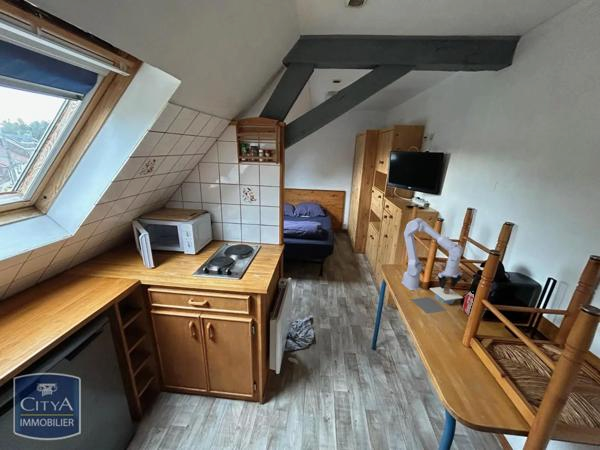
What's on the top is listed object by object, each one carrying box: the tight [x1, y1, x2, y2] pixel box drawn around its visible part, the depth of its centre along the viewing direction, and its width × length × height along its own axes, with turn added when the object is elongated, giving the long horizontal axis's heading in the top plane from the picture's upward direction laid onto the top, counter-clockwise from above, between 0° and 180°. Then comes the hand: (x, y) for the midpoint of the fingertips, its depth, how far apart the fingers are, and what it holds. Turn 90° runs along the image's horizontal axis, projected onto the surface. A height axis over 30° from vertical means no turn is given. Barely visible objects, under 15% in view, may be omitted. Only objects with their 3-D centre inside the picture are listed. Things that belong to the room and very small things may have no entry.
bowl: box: [434, 293, 456, 305], centre depth 143 cm, size 10×10×4 cm
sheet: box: [429, 284, 464, 301], centre depth 141 cm, size 12×12×4 cm
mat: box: [410, 296, 447, 314], centre depth 137 cm, size 13×13×1 cm
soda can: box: [462, 290, 474, 317], centre depth 129 cm, size 7×7×12 cm
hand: (447, 287), depth 141 cm, fingers open, 7 cm apart
